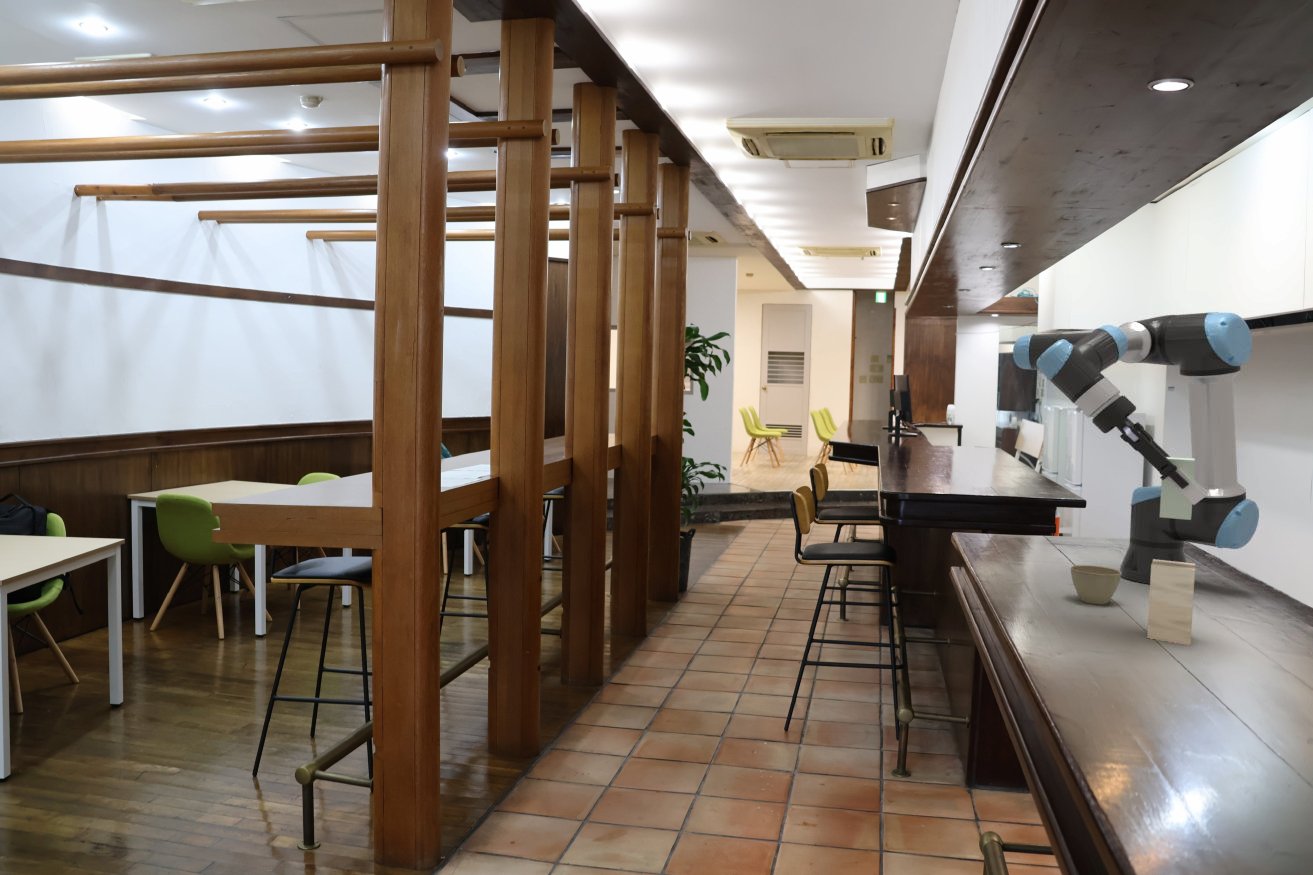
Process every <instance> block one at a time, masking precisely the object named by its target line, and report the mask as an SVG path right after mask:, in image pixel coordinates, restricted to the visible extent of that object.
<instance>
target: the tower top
mask: <svg viewBox="0 0 1313 875" xmlns="http://www.w3.org/2000/svg"><path fill="white" fill-rule="evenodd" d="M1195 574H1196V563H1191V562H1187V563H1184V562H1175V561H1165V560H1156V559H1153V561H1152V565H1151V579H1150V584H1149V596H1148V597H1149V599H1148V603H1149V602H1152V603H1159V604H1167V605H1175V606H1183V607H1190V608H1193V609H1194V594H1195V593H1194V591H1195V576H1196V575H1195Z"/></svg>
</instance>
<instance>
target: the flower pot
mask: <svg viewBox="0 0 1313 875" xmlns="http://www.w3.org/2000/svg"><path fill="white" fill-rule="evenodd" d="M1121 574H1122V573H1121V572H1120V570H1117V569H1115V568H1110V567H1105V566H1101V565H1100V566H1099V565H1089V564H1088V565H1087V564H1086V565H1085V564H1084V565H1082V564H1080V565H1078V564H1077V565H1072V566H1071V567H1070V575H1071V579H1072V583H1073V586H1074V589H1075V590H1076V593H1077V596H1078V597H1079V598H1080V600H1081V601H1082V602H1084V603H1085V604H1092V605H1106V604H1108V603H1109V602H1110V600H1111V599H1112V597H1114V594H1115V593H1116V591H1117V588H1118V586H1119V584H1120V582H1121Z"/></svg>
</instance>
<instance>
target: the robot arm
mask: <svg viewBox="0 0 1313 875" xmlns="http://www.w3.org/2000/svg"><path fill="white" fill-rule="evenodd" d="M1252 350H1253V338H1252V334H1251V331H1250V328H1249V325H1248V324H1247V322H1246V321H1245V320H1244V319H1243V318H1242V317H1241V316H1240V315H1239V314H1236V313H1234V312H1219V311H1214V312H1201V313H1198V312H1197V313H1186V314H1185V313H1184V314H1169V315H1160V316H1156V317H1155V316H1154V317H1150V318H1147V319H1141V320H1136V321H1129V322H1128V321H1127V322H1125V323H1122V324H1120V325H1119V326H1118V327H1117V326H1116V325H1115V326H1114V325H1110V324H1105V325H1102V326H1099V327H1097V328H1094V329H1088V330H1086V329H1085V330H1078V331H1076V330H1074V331H1064V332H1056V333H1043V334H1042V333H1040V334H1035V333H1032V334H1025V335H1021V336H1020V337H1018V338H1017V339H1016V341H1014V345H1013V349H1012V352H1013V353H1012V354H1013V355H1012V357H1013V358H1012V359H1013V360H1014V363H1015V364H1016V366H1017V367H1018V368H1020V369H1023V370H1031V371H1034V370H1035V371H1036V370H1040V371H1041V373H1042V374H1043V375H1044V376H1045V377H1046V379H1047V380H1048V381H1050V383H1052V384H1053V385H1054V386H1055V387H1056V388H1057V389H1058V390H1059V391H1060V392H1061V393H1063V395H1065V397H1067V398H1068V399H1069V400H1070V401H1071V402H1072V403H1073V404H1074V405H1075V406H1076V408H1075V410H1076V412H1077V413H1080V412H1082V414H1084V415H1085V416H1086V417H1087V418H1092V424H1094V425H1095V427H1096V428H1098V429H1099V430H1100V432H1102V433H1103V434H1108V433H1109V432H1111V431H1112V430H1113V429H1114V428H1115V427H1116V429H1117V430H1118V431H1120V433H1121V434H1120V436H1119V437H1120V438H1121V439H1122V440H1123V441H1124V442H1125V443H1127V444H1129V445H1130V446H1131V448H1133V450H1135V451H1136V452H1138V453H1139V454H1140V455H1141V456H1142V457H1143V458H1144V459H1146V461H1147V462H1149V464H1150V465H1151V466H1153V468H1154V469H1156V471H1158V472H1159V474H1160V475H1161V476H1160V477H1159V478H1160V479H1161V481H1162V480H1164V479H1165V478H1167V479H1168V480H1169V481H1170V482H1171V483H1172V484H1173V485H1174V486H1175V487H1176V488H1177V489H1178V490H1179V491H1180V492H1181V493H1182V494H1183V495H1184V496H1185V497H1186V498H1187V499H1188V500H1189V501H1190V502H1191V503H1192V513H1191V520H1186V519H1174V518H1163V517H1160V502H1161V485H1153V486H1140V487H1137V488H1135V489H1134V490H1133V492H1132V495H1131V496H1132V497H1131V503H1130V507H1131V508H1130V525H1129V526H1130V527H1129V544H1128V548H1127V551H1126V552H1125V555H1124V557H1123V559H1122V562H1121V563H1120V567H1119V571H1120V572H1121V573H1122V574H1121V577H1122V579H1126V580H1128V581H1129V580H1130V581H1133V582H1138V583H1143V584H1148V585H1150V579H1151V565H1152V561H1153V559H1156V560H1165V561H1175V562H1184V563H1188V562H1187V557H1186V554H1185V551H1184V549H1185V546H1184V545H1185V542H1186V543H1192V544H1198V545H1202V546H1203V545H1204V546H1210V547H1215V548H1218V549H1231V550H1238V549H1242V548H1244V547H1245V546H1247V544H1248V543H1249V542H1250V541H1251V540H1252V539H1253V536H1254V535H1255V533H1256V531H1257V528H1258V524H1259V518H1260V508H1259V506H1258V505H1257V503H1256V501H1254V500H1251V499H1248V498H1247V491H1246V488H1245V487H1244V486H1243V485H1241V483H1239V482H1238V466H1237V465H1238V464H1237V444H1236V440H1237V439H1236V422H1235V421H1236V420H1235V399H1234V395H1235V393H1234V379H1235V377H1237V375H1239V374H1240V373H1241V372H1242V371H1241V366H1243V365H1244V364H1245V363H1247V362H1248V361H1249V359H1250V358H1251V352H1252ZM1118 361H1121V362H1123V363H1125V364H1137V363H1138V364H1151V365H1159V366H1160V365H1163V366H1179V376H1180V377H1181V378H1182V379H1184V380H1185V381H1187V384H1188V405H1189V408H1188V409H1189V420H1190V421H1189V426H1190V427H1189V428H1190V441H1191V442H1190V443H1191V444H1190V445H1191V458H1194V459H1195V463H1194V480H1193V481H1191V480H1190V479H1189V478H1188V477H1187V476H1186V475H1185V474H1184V473H1183V472H1182V471H1181V470H1180V469H1178V470H1177V467H1176V466H1175V465H1173V464H1172V463H1171V462H1170V461H1169V460H1168V459H1167V458H1166V457H1171V456H1170V455H1169V454H1168V453H1167V452H1166V451H1165V450H1164V449H1163V448H1162V447H1161V446H1160V445H1159V444H1158V443H1157V442H1156V441H1155V440H1154V438H1153V436H1152V435H1151V434H1150V433H1148V431H1147V430H1145V428H1144V426H1143V425H1142V424H1141V423H1140V421H1137V422H1136V423H1134V422H1133V421H1132V420H1131V419H1130V418H1129V417H1130V415H1132V414H1133V413H1134V412H1135V411H1136V410H1137V407H1136V405H1135V404H1134V403H1133V402H1132V401H1131V400H1130V399H1129V398H1128V397H1126V396H1125V395H1123V394H1122V395H1120V393H1121V391H1120V389H1119V388H1118V387H1117V386H1116V385H1114V384H1113V382H1111V381H1110V379H1108V378H1107V377H1106V376H1104V375H1103V374H1102V372H1103V371H1105V370H1106V369H1108V368H1109V367H1111V366H1112V365H1114V364H1116V363H1117V362H1118ZM1162 475H1163V476H1162Z"/></svg>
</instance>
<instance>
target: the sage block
mask: <svg viewBox="0 0 1313 875" xmlns="http://www.w3.org/2000/svg"><path fill="white" fill-rule="evenodd" d="M1166 458H1167V459H1168V460H1169V461H1170V462H1171V463H1172V464H1173V465H1175V466H1176V467H1177V470H1178V469H1180V470H1181V471H1182V472H1183V473H1184V474H1185V475H1186V476H1187V477H1188V478H1189V479H1190V480H1191V481H1193V480H1194V463H1195V459H1194V458H1192V457H1191V458H1189V457H1174V456H1173V457H1172V456H1170V457H1166ZM1161 476H1163V475H1161ZM1160 486H1161V502H1160V517H1163V518H1174V519H1186V520H1191V513H1192V503H1191V502H1190V501H1189V500H1188V499H1187V498H1186V497H1185V496H1184V495H1183V494H1182V493H1181V492H1180V491H1179V490H1178V489H1177V488H1176V487H1175V486H1174V485H1173V484H1172V483H1171V482H1170V481H1169V480H1168V479H1167V478H1165V479H1164V480H1162V479H1161V485H1160Z"/></svg>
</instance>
